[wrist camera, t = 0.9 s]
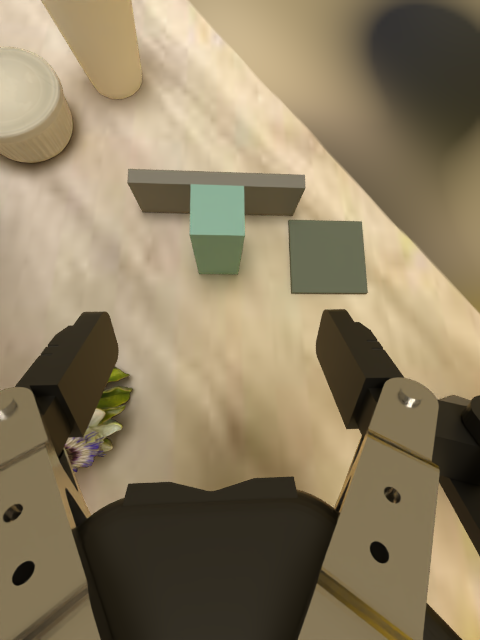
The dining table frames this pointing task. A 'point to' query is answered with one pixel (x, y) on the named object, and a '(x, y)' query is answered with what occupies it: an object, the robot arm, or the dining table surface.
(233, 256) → the block
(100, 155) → the dining table surface
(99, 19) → the foam cup
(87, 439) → the passion flower
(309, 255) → the mat
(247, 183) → the screen
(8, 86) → the ramekin
